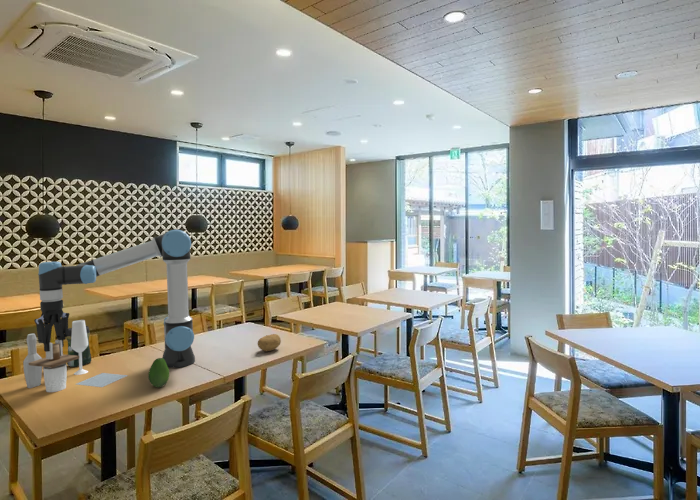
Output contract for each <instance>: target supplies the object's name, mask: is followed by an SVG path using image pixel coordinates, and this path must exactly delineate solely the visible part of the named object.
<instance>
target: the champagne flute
mask: <svg viewBox="0 0 700 500" xmlns="http://www.w3.org/2000/svg"><path fill="white" fill-rule="evenodd" d="M86 326H87V325H86V320H85V319H79V320H73V321H72V322H71V328H72V336H71V348H72V349H73V350H74V351H76V352H78V353H79V366H78V368H79V369H78V370H77V371H75V372H74V373H73V375H76V376H79V375H85V374H87V373H89V371H88V370H87V369H84V368H83V365H82V352H83V351H84V350H85V349H86V348H87V346H88V338H87V331H86Z"/></svg>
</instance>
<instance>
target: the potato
mask: <svg viewBox="0 0 700 500" xmlns="http://www.w3.org/2000/svg"><path fill="white" fill-rule="evenodd" d="M281 343H282V340H281V337H280V335H278V334H277V333H273V334H268V335H264V336H262V337H261V338H259V339H258V341H257V346H258V348H259V349H260V350H261V351H263V352H271V351H274V350H275V349H277V348H279V347H280V346H281Z"/></svg>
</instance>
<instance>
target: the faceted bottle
mask: <svg viewBox="0 0 700 500" xmlns="http://www.w3.org/2000/svg"><path fill="white" fill-rule="evenodd" d="M37 340H38V337H37V336H36V334H35V333H29V334H27V336H26V346H27V355H26V357H25V358H24V360H23V361H22V362H23V373H24V379H25V384H26V388H28V389H33V388H36V387H39V386H41V384H42V377H43V376H42V375H43V374H42V373H43V372H42V371H43V367H41V366H31V365H29V363H30V362H33V361H36V360H39V359H42V358H43V357H42V356H41V355H39V353H37Z"/></svg>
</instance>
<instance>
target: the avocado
mask: <svg viewBox="0 0 700 500" xmlns="http://www.w3.org/2000/svg"><path fill="white" fill-rule="evenodd" d="M147 378H148V381H149V383H150V384H151V386H153V387H155V388H162V387H164V386H165V385H166V384H167V383H168V381H169V378H170V369H169V367H167V364H166V362H165V360H164V359H163V358H162V357H158V358H155V360H153V362H152V364H151V365H150V368H149V371H148V377H147Z"/></svg>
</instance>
